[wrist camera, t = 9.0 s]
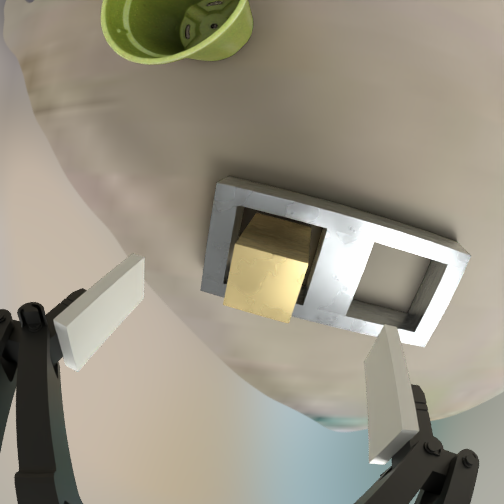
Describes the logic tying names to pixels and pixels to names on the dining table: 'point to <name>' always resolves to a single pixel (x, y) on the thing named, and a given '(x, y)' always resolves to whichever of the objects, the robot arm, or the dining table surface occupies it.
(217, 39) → the plant pot
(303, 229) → the yellow rectangular block
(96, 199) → the dining table surface
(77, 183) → the dining table surface
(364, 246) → the grey double window frame
